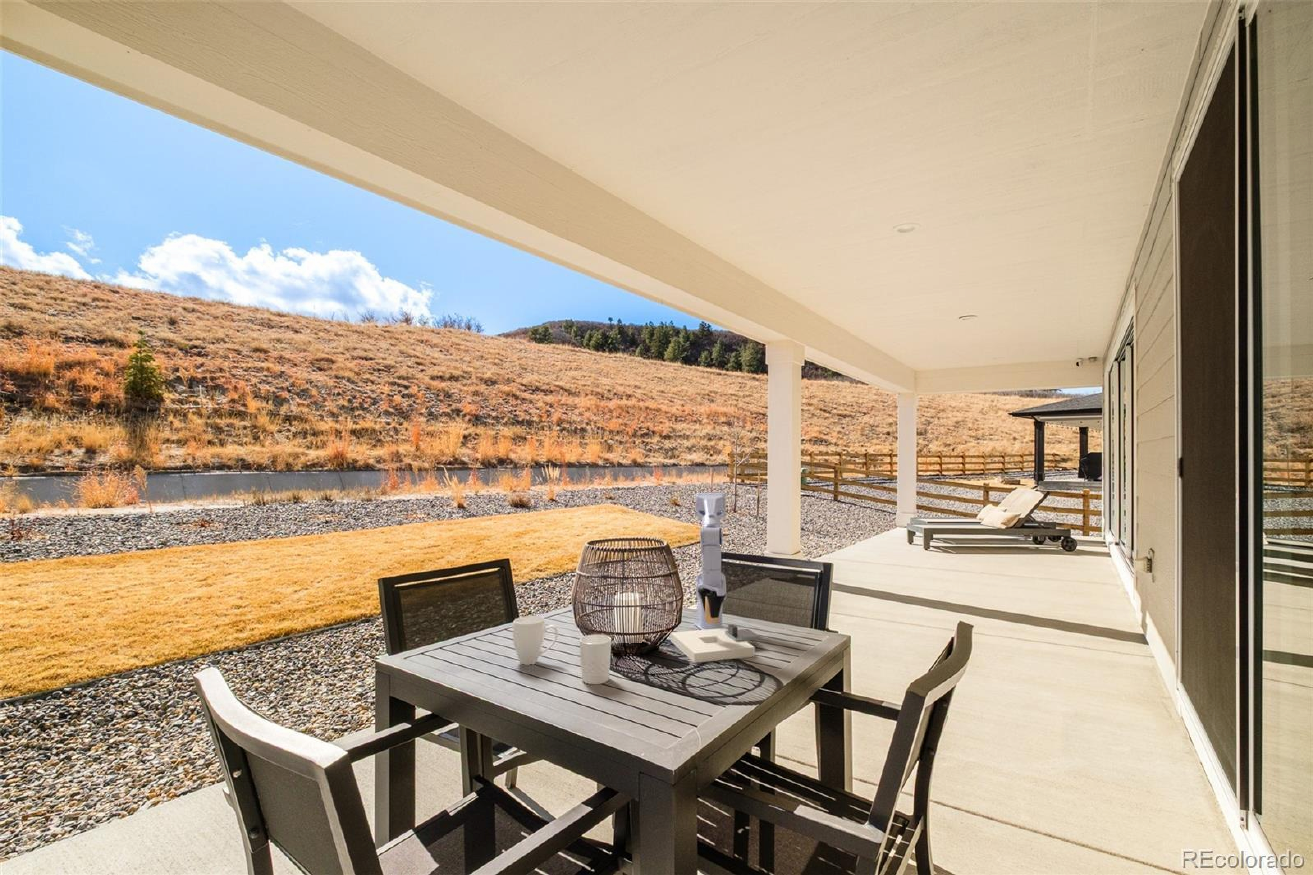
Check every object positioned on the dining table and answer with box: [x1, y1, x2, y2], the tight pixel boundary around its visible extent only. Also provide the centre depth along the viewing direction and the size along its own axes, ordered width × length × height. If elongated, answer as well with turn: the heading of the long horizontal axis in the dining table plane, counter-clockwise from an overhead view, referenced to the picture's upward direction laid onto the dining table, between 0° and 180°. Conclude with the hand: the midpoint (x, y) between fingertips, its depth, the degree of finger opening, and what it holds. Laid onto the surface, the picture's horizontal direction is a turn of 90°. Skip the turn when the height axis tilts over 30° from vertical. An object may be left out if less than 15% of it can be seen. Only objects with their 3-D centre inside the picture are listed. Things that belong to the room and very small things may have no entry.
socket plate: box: [670, 627, 756, 664], centre depth 172 cm, size 20×18×2 cm
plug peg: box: [705, 592, 719, 623], centre depth 173 cm, size 4×4×8 cm
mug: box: [512, 615, 559, 666], centre depth 160 cm, size 12×8×11 cm
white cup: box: [579, 634, 612, 685], centre depth 148 cm, size 8×8×10 cm
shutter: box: [725, 624, 761, 641], centre depth 175 cm, size 8×8×3 cm
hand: (711, 615), depth 173 cm, fingers closed on plug peg, 4 cm apart
